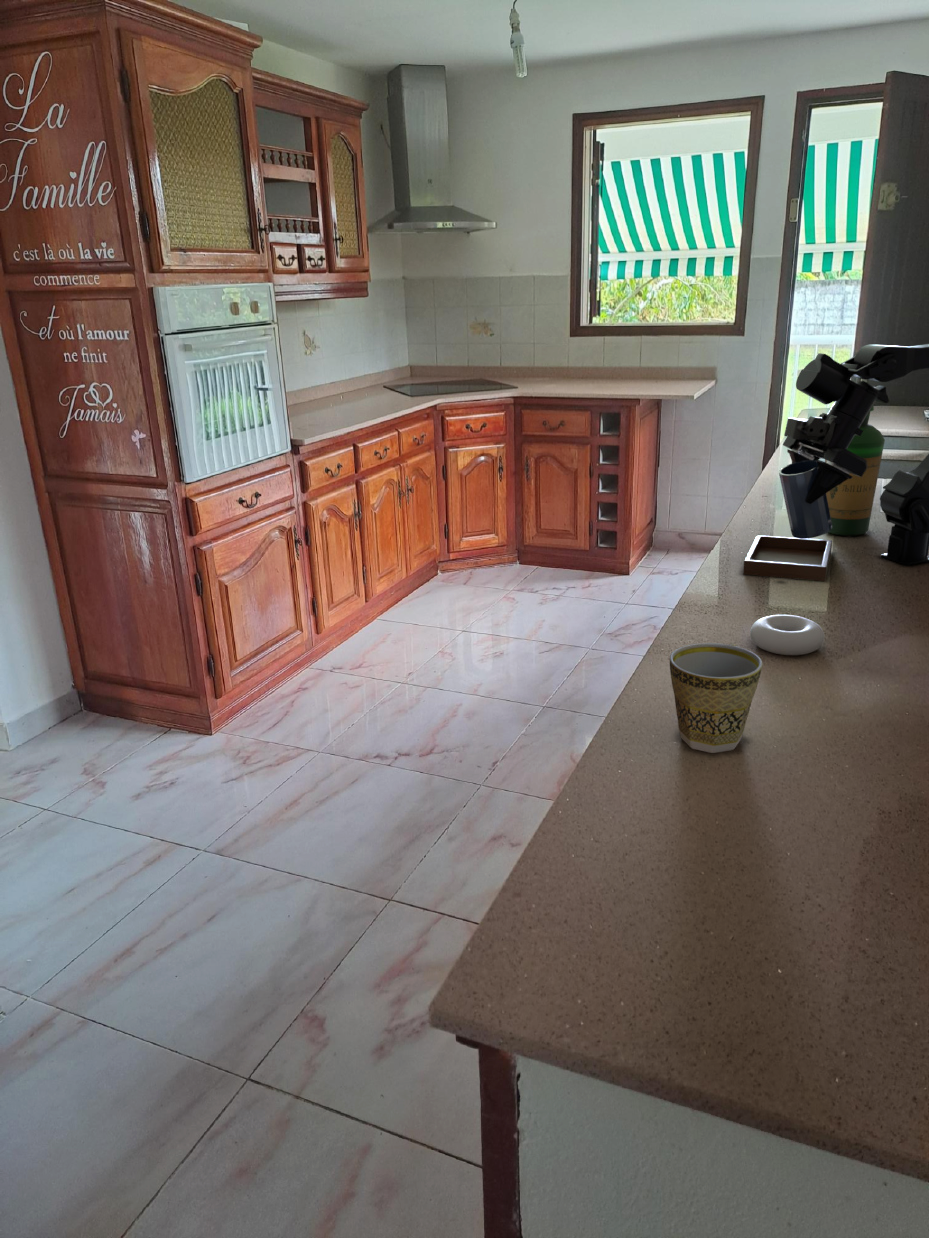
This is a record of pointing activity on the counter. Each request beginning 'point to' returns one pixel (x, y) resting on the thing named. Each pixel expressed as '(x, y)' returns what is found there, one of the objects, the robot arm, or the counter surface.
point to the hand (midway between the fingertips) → (797, 498)
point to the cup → (795, 490)
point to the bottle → (857, 485)
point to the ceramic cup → (713, 693)
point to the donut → (787, 634)
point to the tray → (788, 558)
